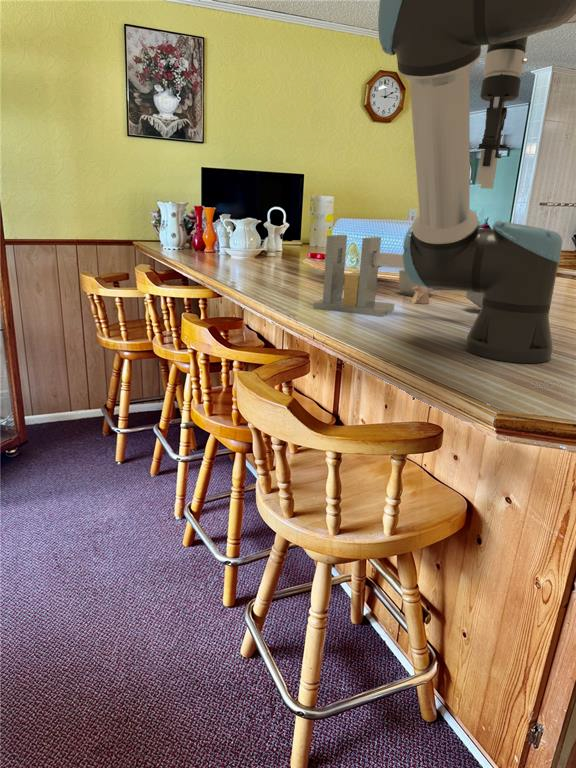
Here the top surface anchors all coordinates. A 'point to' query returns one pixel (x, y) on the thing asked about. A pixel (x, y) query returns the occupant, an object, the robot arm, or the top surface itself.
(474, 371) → the top surface
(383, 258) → the shaft
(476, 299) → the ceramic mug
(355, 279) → the tan block
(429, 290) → the teacup
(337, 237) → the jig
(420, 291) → the mouse figurine
